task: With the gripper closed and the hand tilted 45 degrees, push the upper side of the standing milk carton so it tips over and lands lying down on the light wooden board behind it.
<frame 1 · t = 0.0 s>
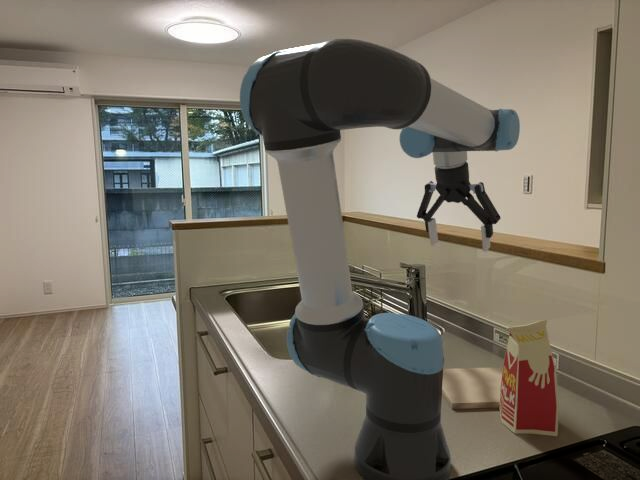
hand: (459, 246, 117), 28 cm above the counter, tool tilted 20°, fingers open, 13 cm apart
board: (480, 388, 102), on the counter
milk carton: (524, 422, 89), on the counter
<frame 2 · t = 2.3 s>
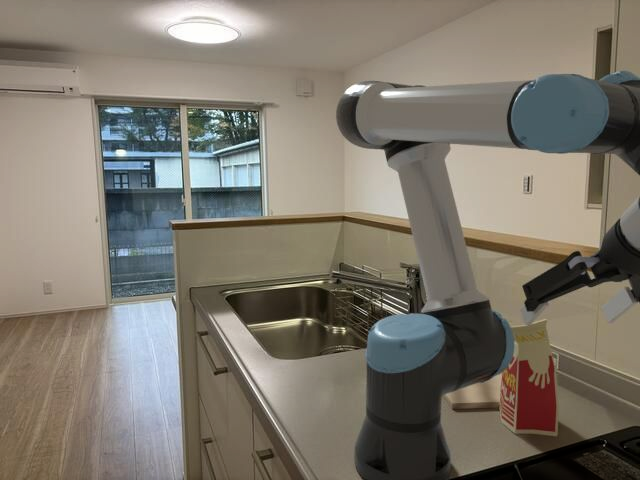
hand: (566, 316, 75), 24 cm above the counter, tool tilted 45°, fingers open, 13 cm apart
nothing on the counter moved.
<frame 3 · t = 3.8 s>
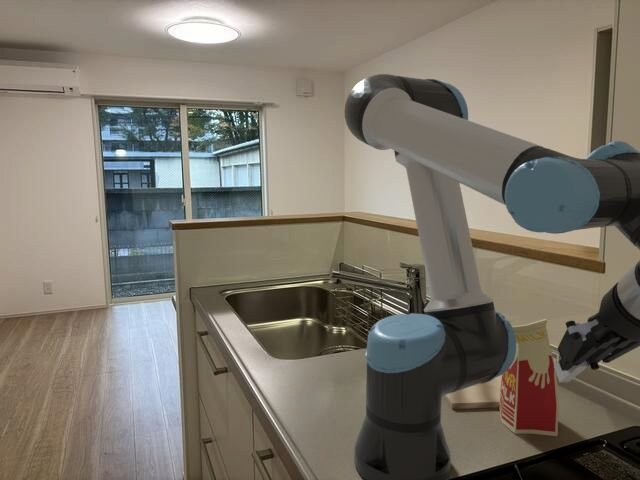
hand: (561, 374, 77), 14 cm above the counter, tool tilted 45°, fingers closed
nothing on the counter moved.
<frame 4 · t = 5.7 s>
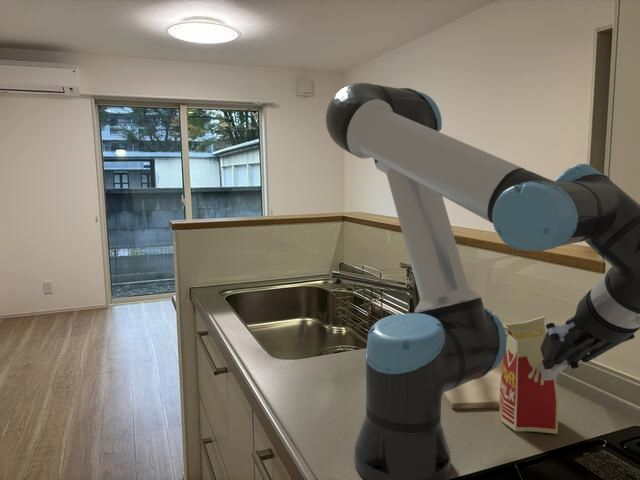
hand: (545, 372, 83), 11 cm above the counter, tool tilted 45°, fingers closed
milk carton: (524, 421, 89), on the counter, touching gripper
everything else where it was.
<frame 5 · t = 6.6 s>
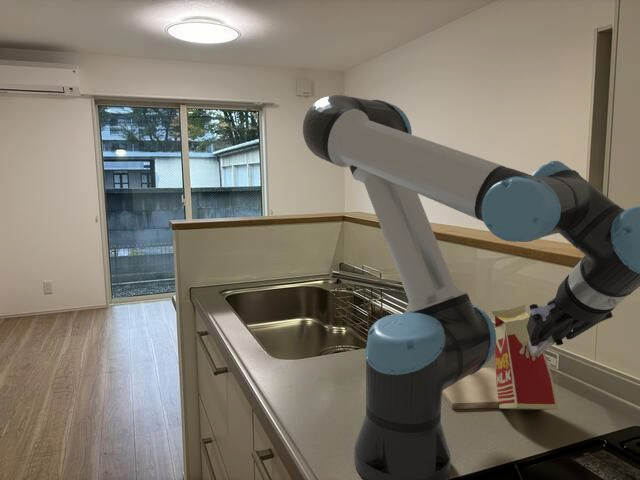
hand: (533, 349, 89), 13 cm above the counter, tool tilted 45°, fingers closed
milk carton: (525, 410, 89), point 2 cm above the counter, touching board, gripper
everything else where it was.
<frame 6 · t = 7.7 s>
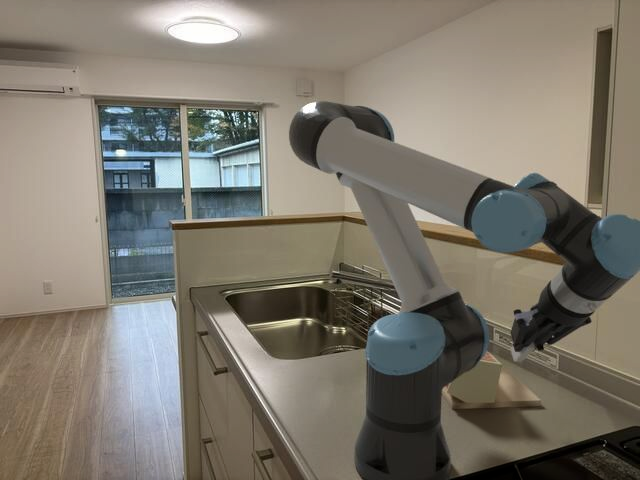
hand: (515, 355, 92), 11 cm above the counter, tool tilted 45°, fingers closed
milk carton: (473, 382, 92), point 6 cm above the counter, touching board
everything else where it was.
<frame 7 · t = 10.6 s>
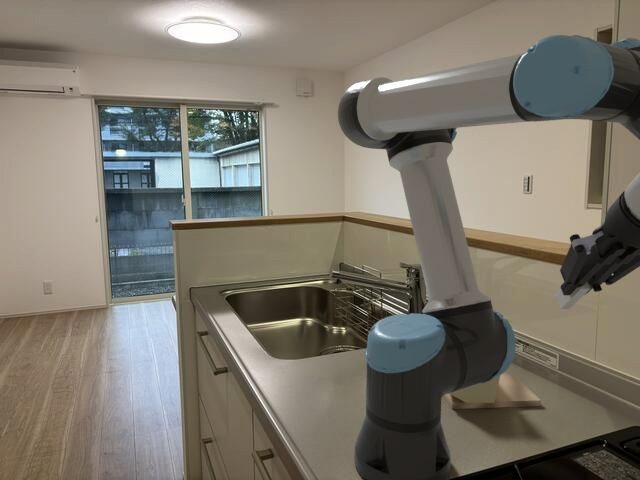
hand: (562, 301, 76), 26 cm above the counter, tool tilted 45°, fingers closed
nothing on the counter moved.
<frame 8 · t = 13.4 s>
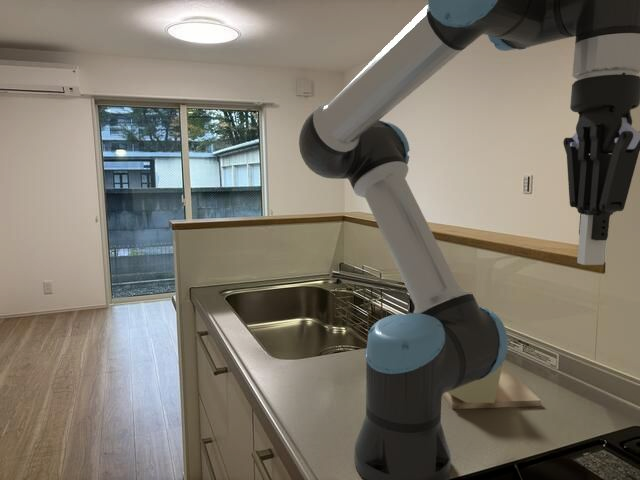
hand: (590, 263, 62), 34 cm above the counter, tool pointing down, fingers closed
nothing on the counter moved.
at the end: milk carton tilted 92°; milk carton 9.7 cm from the board (horizontally); the gripper is holding nothing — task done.
